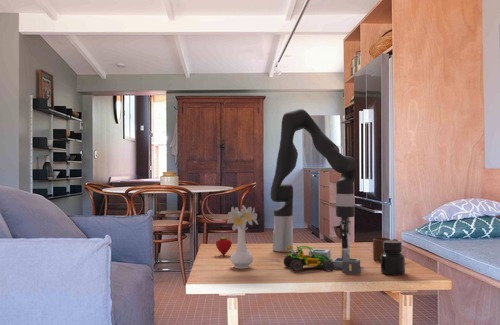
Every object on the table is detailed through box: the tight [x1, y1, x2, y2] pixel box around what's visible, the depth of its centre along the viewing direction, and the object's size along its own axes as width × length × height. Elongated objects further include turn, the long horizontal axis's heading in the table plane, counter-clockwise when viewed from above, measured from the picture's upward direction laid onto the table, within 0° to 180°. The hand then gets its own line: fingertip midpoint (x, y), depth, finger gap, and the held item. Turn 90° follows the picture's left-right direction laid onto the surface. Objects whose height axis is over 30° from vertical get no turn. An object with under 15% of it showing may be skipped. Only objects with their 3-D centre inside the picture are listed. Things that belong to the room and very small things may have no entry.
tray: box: [331, 256, 361, 270], centre depth 187 cm, size 10×9×3 cm
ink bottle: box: [380, 239, 406, 276], centre depth 176 cm, size 10×9×12 cm
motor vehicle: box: [283, 245, 333, 273], centre depth 185 cm, size 12×19×11 cm, turn 102°
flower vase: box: [226, 204, 259, 270], centre depth 188 cm, size 13×18×25 cm
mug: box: [372, 237, 399, 263], centre depth 202 cm, size 12×8×9 cm, turn 100°
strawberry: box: [215, 235, 233, 256], centre depth 217 cm, size 6×8×10 cm
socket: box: [308, 248, 331, 258], centre depth 204 cm, size 8×8×4 cm
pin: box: [341, 229, 351, 261], centre depth 187 cm, size 3×3×14 cm
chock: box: [342, 260, 361, 275], centre depth 177 cm, size 4×6×4 cm
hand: (345, 247), depth 187 cm, fingers open, 3 cm apart
